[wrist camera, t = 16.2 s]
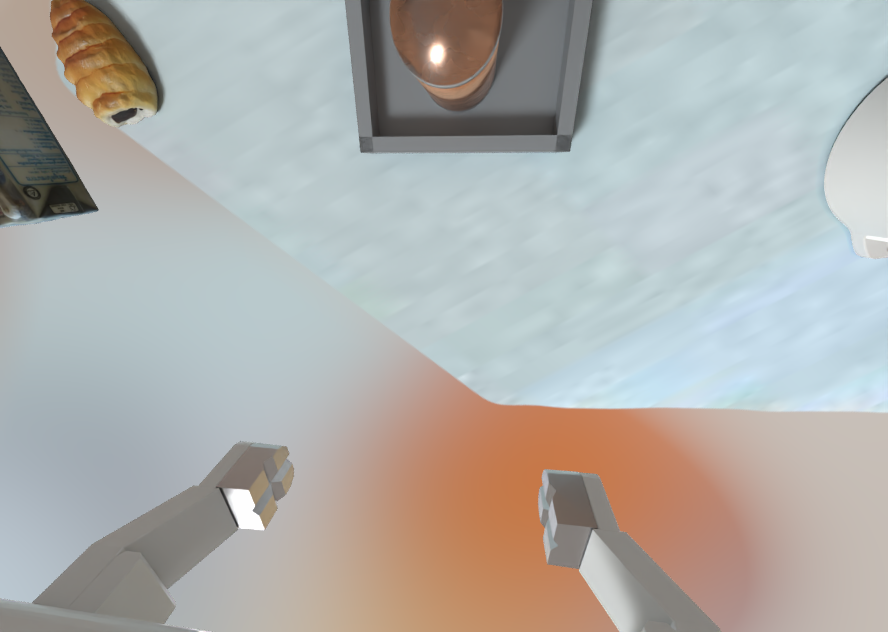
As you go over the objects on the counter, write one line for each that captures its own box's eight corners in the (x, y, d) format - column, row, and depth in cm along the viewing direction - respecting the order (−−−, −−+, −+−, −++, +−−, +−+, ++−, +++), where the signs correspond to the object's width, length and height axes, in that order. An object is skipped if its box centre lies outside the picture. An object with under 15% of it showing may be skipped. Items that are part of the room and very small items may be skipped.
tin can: (498, 20, 25) (507, -70, 15) (493, 111, 28) (499, 84, 18) (421, 24, 26) (384, -59, 16) (424, 113, 28) (393, 88, 19)
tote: (589, -45, 24) (603, -72, 21) (562, 152, 29) (570, 151, 27) (354, -31, 25) (339, -53, 23) (371, 153, 31) (360, 152, 28)
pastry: (55, 21, 29) (0, 3, 26) (109, -11, 28) (57, -36, 25) (125, 133, 33) (84, 130, 30) (175, 109, 32) (138, 103, 28)
